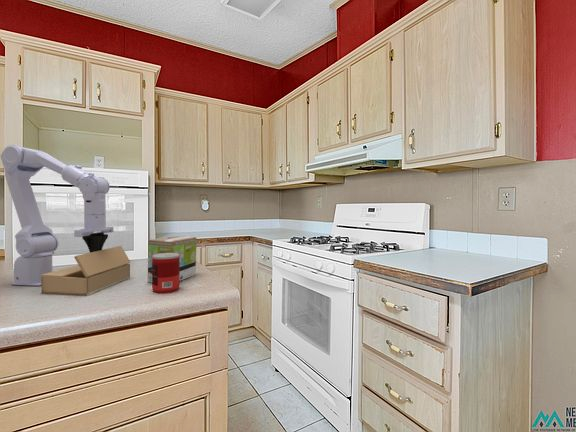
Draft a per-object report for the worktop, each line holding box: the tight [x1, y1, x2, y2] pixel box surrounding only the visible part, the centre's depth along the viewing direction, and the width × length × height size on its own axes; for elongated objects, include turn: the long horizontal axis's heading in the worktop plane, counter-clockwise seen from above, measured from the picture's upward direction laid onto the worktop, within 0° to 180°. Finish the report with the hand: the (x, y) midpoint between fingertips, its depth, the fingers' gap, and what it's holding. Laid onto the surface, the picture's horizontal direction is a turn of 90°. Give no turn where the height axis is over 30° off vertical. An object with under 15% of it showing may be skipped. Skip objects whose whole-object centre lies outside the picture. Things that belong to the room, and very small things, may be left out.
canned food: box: [151, 253, 180, 294], centre depth 91 cm, size 8×8×11 cm
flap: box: [73, 245, 131, 277], centre depth 94 cm, size 7×20×1 cm
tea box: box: [147, 235, 198, 284], centre depth 104 cm, size 15×10×15 cm
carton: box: [40, 263, 131, 297], centre depth 94 cm, size 14×20×6 cm
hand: (95, 256), depth 94 cm, fingers closed, pressing on flap
